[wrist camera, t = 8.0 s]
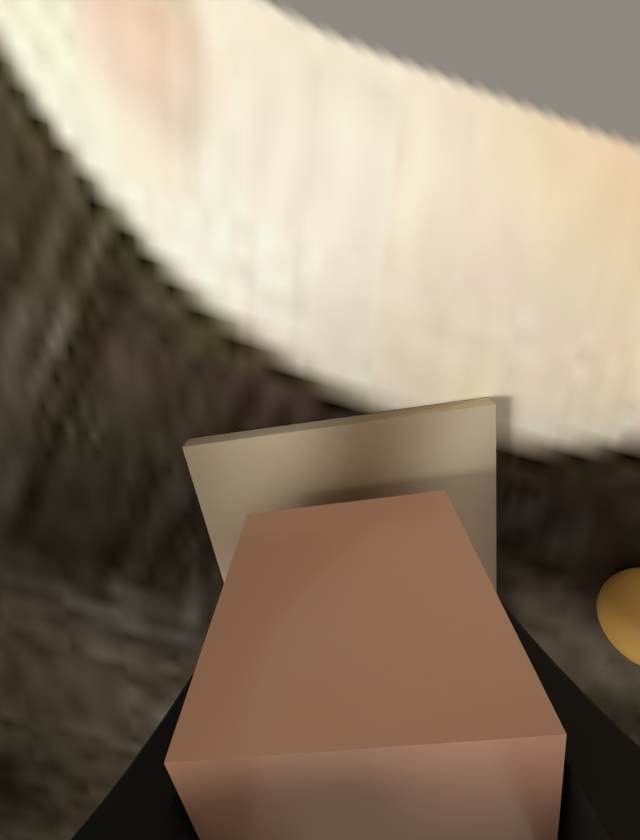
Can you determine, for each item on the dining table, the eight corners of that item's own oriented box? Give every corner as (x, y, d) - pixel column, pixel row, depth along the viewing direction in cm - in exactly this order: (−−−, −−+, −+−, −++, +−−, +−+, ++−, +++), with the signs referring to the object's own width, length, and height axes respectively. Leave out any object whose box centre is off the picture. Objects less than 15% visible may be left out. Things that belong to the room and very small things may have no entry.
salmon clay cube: (445, 490, 11) (566, 734, 5) (453, 639, 13) (549, 934, 7) (247, 514, 11) (163, 763, 6) (284, 654, 13) (248, 944, 8)
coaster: (488, 397, 12) (495, 404, 11) (490, 627, 15) (496, 641, 14) (188, 438, 12) (182, 446, 12) (252, 650, 16) (249, 664, 15)
